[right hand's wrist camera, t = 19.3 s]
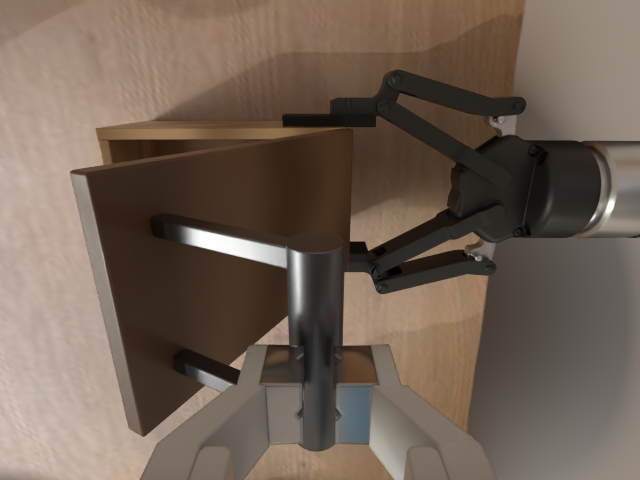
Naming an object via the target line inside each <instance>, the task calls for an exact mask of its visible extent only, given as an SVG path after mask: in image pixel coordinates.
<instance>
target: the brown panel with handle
mask: <svg viewBox="0 0 640 480" xmlns="http://www.w3.org/2000/svg"><path fill="white" fill-rule="evenodd" d="M352 143H353V129H347V128H341V129H334V130H328V131H321V132H315V133H308V134H302V135H295V136H289V137H283V138H276V139H270V140H263V141H257V142H250V143H244V144H237V145H231V146H224V147H218V148H212V149H205V150H199V151H192V152H186V153H179V154H173V155H166V156H160V157H153V158H147V159H141V160H134V161H128V162H121V163H115V164H108V165H102V166H95V167H89V168H82V169H76V170H72V171H70V176H71V180H72V184H73V189H74V193H75V197H76V202H77V206H78V210H79V215H80V219H81V223H82V228H83V232H84V236H85V241H86V245H87V249H88V254H89V258H90V262H91V267H92V271H93V275H94V280H95V284H96V288H97V293H98V297H99V301H100V306H101V310H102V314H103V319H104V323H105V327H106V332H107V336H108V340H109V345H110V349H111V353H112V358H113V362H114V366H115V371H116V375H117V379H118V384H119V388H120V392H121V396H122V401H123V405H124V409H125V414H126V418H127V422H128V427H129V429H131V430H132V431H134V432H136V433H137V434H139V435H141V436H142V437H144V436H146V435H147V434H148V433H149V432H151V431H152V430H153V429H154V428H155V427H156V426H158V425H159V424H160V423H161V422H162V421H164V420H165V419H166V418H167V417H168V416H169V415H171V414H172V413H173V412H174V411H175V410H177V409H178V408H179V407H180V406H181V405H182V404H184V403H185V402H186V401H187V400H188V399H190V398H191V397H192V396H193V395H194V394H195V393H197V392H198V391H199V390H200V389H201V388H203V387H204V386H205V385H206V386H208V387H210V388H212V389H214V390H217V391H219V392H221V393H222V392H223V391H225V390H226V389H227V388H228V387H230V386H231V385H237V383H238V379H239V376H240V373H241V371H240V370H238V369H235V368H233V367H230V366H229V365H230V364H231V363H232V362H233V361H234V360H236V359H237V358H238V357H239V356H240V355H242V354H243V353H244V352H245V351H246V350H247V349H248V347H249V346H250V345H253V344H255V343H256V342H257V341H258V340H259V339H260V338H262V337H263V336H264V335H265V334H266V333H268V332H269V331H270V330H271V329H272V328H273V327H275V326H276V325H277V324H278V323H279V322H281V321H282V320H283V319H284V318H285V317H286V316H288V321H289V345H305V409H304V432H303V444H298V445H299V446H301V447H302V448H304V449H306V450H310V451H323V450H326V449H328V448H330V447H332V446H333V445H334V444H335V427H334V405H333V372H334V363H333V351H334V346H343V304H344V267H346V266H347V265H348V264H349V251H350V215H351V179H352Z"/></svg>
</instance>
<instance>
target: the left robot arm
mask: <svg viewBox="0 0 640 480" xmlns="http://www.w3.org/2000/svg"><path fill="white" fill-rule="evenodd" d="M399 93H402V94H406V95H409V96H412V97H416V98H419V99H422V100H426V101H429V102H432V103H435V104H439V105H442V106H445V107H449V108H452V109H455V110H459V111H462V112H465V113H469V114H473V115H482V116H484V123H485V124H486V125H487V126H490V127H493V128H495V130H496V132H497V135H496V136H494V137H492V138H491V139H489V140H488V141H486V142H485V143H483V144H482V145H481V146H479V147H478V148H476V149H475V150H473V149H472V148H470V147H468V146H466V145H464V144H462V143H461V142H459V141H457V140H456V139H454V138H452V137H451V136H449V135H448V134H446V133H444V132H443V131H441V130H439V129H438V128H436V127H435V126H433V125H431V124H430V123H428V122H427V121H425V120H423V119H422V118H420V117H418V116H417V115H415V114H414V113H412V112H410V111H409V110H407V109H405V108H404V107H402V106H401V105H399V104H397V103H396V101H397V98H398V96H399ZM525 107H526V101H525V100H524V99H523V98H522V97H494V98H489V97H486V96H483V95H480V94H476V93H473V92H470V91H467V90H463V89H460V88H457V87H454V86H450V85H447V84H444V83H441V82H438V81H434V80H431V79H428V78H425V77H421V76H418V75H415V74H412V73H408V72H405V71H402V70H394V71H391V72H389V73H387V74H385V75H384V77H383V82H382V85H381V87H380V90H379V92H378V93H377V95H375V96H374V97H372V98H335V99H333V100H331V101H330V114H284V115H282V118H283V127H376V116H380V117H382V118H384V119H385V120H387V121H389V122H390V123H392V124H394V125H395V126H397V127H399V128H400V129H402V130H404V131H405V132H407V133H409V134H410V135H412V136H414V137H415V138H417V139H419V140H420V141H422V142H424V143H425V144H427V145H429V146H430V147H432V148H433V149H435V150H437V151H438V152H440V153H442V154H443V155H445V156H446V157H448V158H450V159H451V160H453V161H455V162H456V163H457V164H456V165H455V168H452V170H451V184H452V188H451V191H450V194H449V196H448V203H447V206H448V207H449V208H448V209H446V210H444V211H442V212H440V213H438V214H437V215H436V217H435V218H433V219H431V220H429V221H427V222H425V223H423V224H421V225H419V226H417V227H415V228H413V229H411V230H409V231H407V232H405V233H403V234H401V235H399V236H397V237H395V238H393V239H391V240H389V241H387V242H385V243H383V244H381V245H379V246H377V247H375V248H373V249H371V250H370V251H368V249H367V246H366V243H365V242H350V251H349V264H348V265H347V266H346V267H344V272H366V273H368V274H370V275H371V277H372V279H373V282H374V285H375V288H376V291H377V292H378V293H380V294H386V293H390V292H394V291H399V290H403V289H407V288H411V287H415V286H419V285H423V284H428V283H432V282H436V281H440V280H444V279H448V278H453V277H457V276H461V275H465V274H474V275H491V274H493V273H494V272H495V271H496V265H495V264H494V263H493V262H492V257H493V253H494V250H495V246H496V243H498V242H501V241H503V240H505V239H508V238H512V237H519V238H568V237H571V236H572V237H576V238H617V237H627V238H637V237H640V141H583V142H578V141H542V140H537V141H536V140H534V141H533V140H532V141H530V140H529V141H528V140H523V139H521V138H520V137H518V136H516V125H517V115H518V114H521V113H522V112H523V111H524V109H525ZM471 232H474V233H475V234H476V235H478V236H479V237H480V239H479V241H478V242H477V243H475V244H471V245H466V246H465V250H453V251H448V252H444V253H440V254H436V255H432V256H428V257H424V258H419V259H415V260H411V261H407V260H409V259H411V258H413V257H415V256H417V255H419V254H421V253H423V252H425V251H427V250H429V249H431V248H433V247H435V246H437V245H439V244H442V243H444V242H446V241H448V240H451V239H454V240H455V239H458V238H461V237H463V236H465V235H467V234H469V233H471ZM405 261H407V262H405Z"/></svg>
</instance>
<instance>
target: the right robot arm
mask: <svg viewBox="0 0 640 480" xmlns="http://www.w3.org/2000/svg"><path fill="white" fill-rule="evenodd" d="M333 363H334V372H333V405H334V427H335V444H367V445H369V447H370V448H371V449H372V451H373V452H374V453H375V455H376V456H377V457H378V459H379V460H380V461H381V463H382V464H383V465H384V467H385V468H386V469H387V471H388V472H389V473H390V475H391V476H392V477H393V478H394V480H497V478H496V475H495V473H494V471H493V469H492V467H491V465H490V462H489V460H488V458H487V456H486V454H485V452H484V450H483V447H482V445H481V444H480V443H478V442H477V441H476V440H475V439H473V438H472V437H471V436H470V435H468V434H467V433H466V432H465V431H463V430H462V429H461V428H460V427H458V426H457V425H456V424H455V423H453V422H452V421H451V420H450V419H448V418H447V417H446V416H445V415H443V414H442V413H441V412H440V411H438V410H437V409H436V408H435V407H433V406H432V405H431V404H430V403H428V402H427V401H426V400H425V399H423V398H422V397H421V396H420V395H418V394H417V393H416V392H415V391H413V390H412V389H411V388H410V387H408V386H407V385H401V383H400V379H399V376H398V372H397V369H396V365H395V362H394V359H393V355H392V352H391V348H390V346H389V345H388V344H384V345H366V346H334V351H333ZM304 409H305V345H250V346H249V347H248V349H247V352H246V356H245V359H244V362H243V366H242V369H241V373H240V376H239V379H238V383H237V385H231V386H230V387H228V388H227V389H226V390H225V391H223V392H222V393H221V394H220V395H218V396H217V397H216V398H215V399H213V400H212V401H211V402H209V403H208V404H207V405H206V406H204V407H203V408H202V409H201V410H199V411H198V412H197V413H196V414H194V415H193V416H192V417H190V418H189V419H188V420H187V421H185V422H184V423H183V424H182V425H180V426H179V427H178V428H177V429H175V430H174V431H173V432H171V433H170V434H169V435H168V436H166V437H165V438H164V439H163V440H161V441H160V442H159V443H158V444H157V445H156V447H155V449H154V451H153V453H152V455H151V457H150V459H149V461H148V464H147V466H146V468H145V470H144V472H143V474H142V476H141V478H140V480H244V479H245V477H246V476H247V475H248V473H249V472H250V471H251V470H252V468H253V467H254V466H255V464H256V463H257V462H258V460H259V459H260V458H261V456H262V455H263V454H264V453H265V451H266V450H267V449H268V447H269V445H271V444H303V432H304Z"/></svg>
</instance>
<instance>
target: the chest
mask: <svg viewBox="0 0 640 480" xmlns="http://www.w3.org/2000/svg"><path fill="white" fill-rule="evenodd" d="M341 128H346V127H283V120H219V121H144V122H137V123H130V124H123V125H116V126H110V127H103V128H96V133H97V138H98V142H99V147H100V152H101V157H102V162H103V165H108V164H115V163H121V162H128V161H134V160H141V159H147V158H153V157H160V156H166V155H173V154H179V153H186V152H192V151H199V150H205V149H212V148H218V147H224V146H231V145H237V144H244V143H250V142H257V141H263V140H270V139H276V138H283V137H289V136H295V135H302V134H308V133H315V132H321V131H328V130H334V129H341Z"/></svg>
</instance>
